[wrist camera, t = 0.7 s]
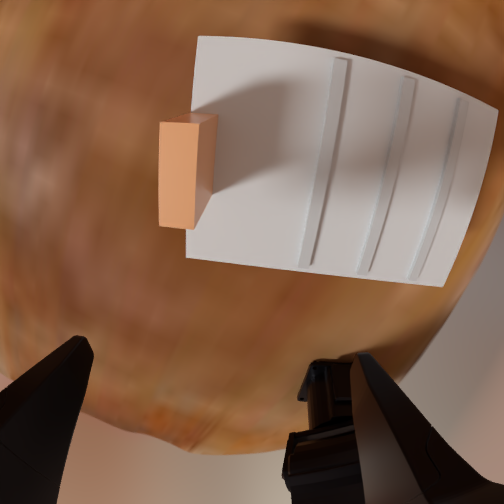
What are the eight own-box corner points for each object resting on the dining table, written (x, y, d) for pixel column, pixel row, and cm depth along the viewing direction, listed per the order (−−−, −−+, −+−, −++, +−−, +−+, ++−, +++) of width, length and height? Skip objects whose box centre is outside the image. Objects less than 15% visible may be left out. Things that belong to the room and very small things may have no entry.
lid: (435, 276, 18) (468, 328, 14) (189, 246, 18) (163, 302, 14) (486, 107, 12) (546, 124, 8) (201, 39, 12) (169, 18, 8)
